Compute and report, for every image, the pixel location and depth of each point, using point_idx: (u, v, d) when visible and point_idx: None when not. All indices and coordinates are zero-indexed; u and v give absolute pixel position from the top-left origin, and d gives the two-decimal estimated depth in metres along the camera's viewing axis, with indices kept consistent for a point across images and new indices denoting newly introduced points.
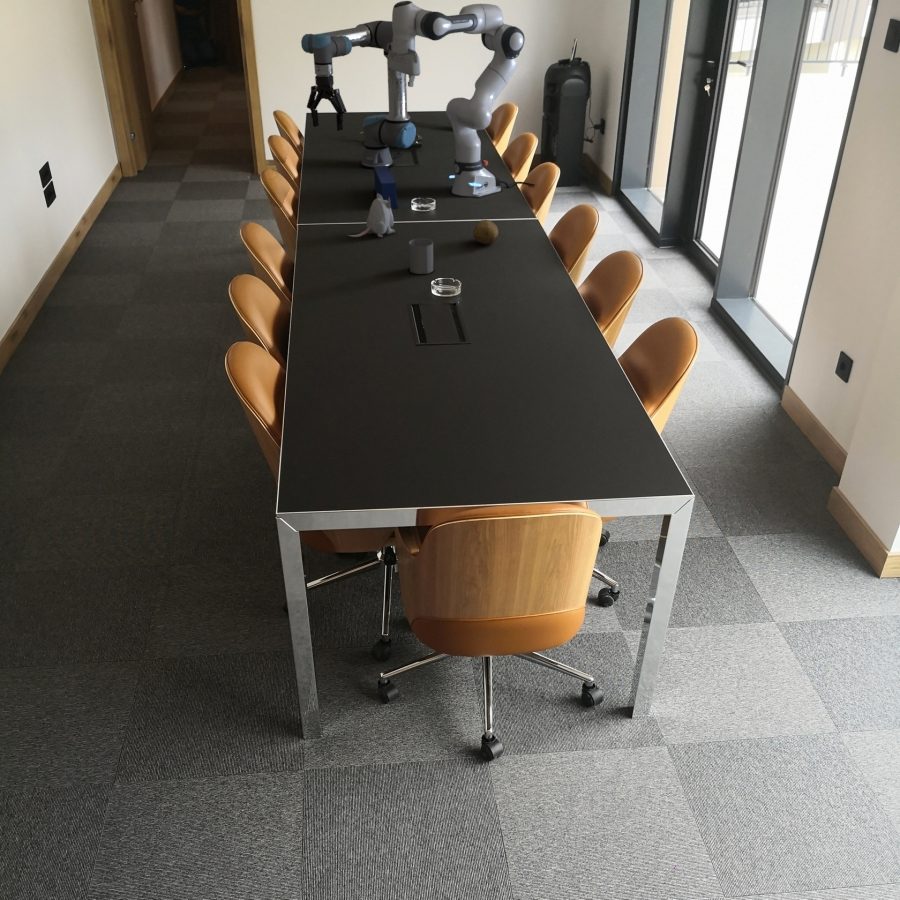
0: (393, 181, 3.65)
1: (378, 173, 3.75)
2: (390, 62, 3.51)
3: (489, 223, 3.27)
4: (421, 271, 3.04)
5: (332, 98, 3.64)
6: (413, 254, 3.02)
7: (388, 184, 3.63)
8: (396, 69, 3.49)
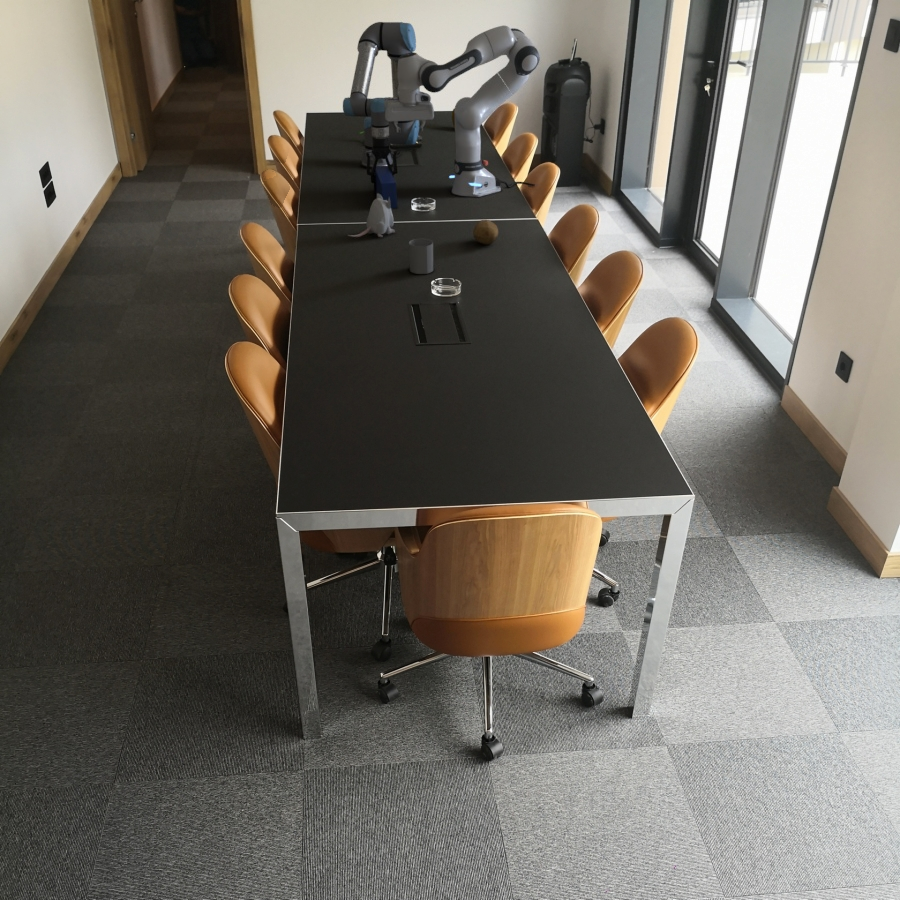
0: (393, 181, 3.65)
1: (378, 173, 3.75)
2: None
3: (489, 223, 3.27)
4: (421, 271, 3.04)
5: None
6: (413, 254, 3.02)
7: (388, 184, 3.63)
8: None
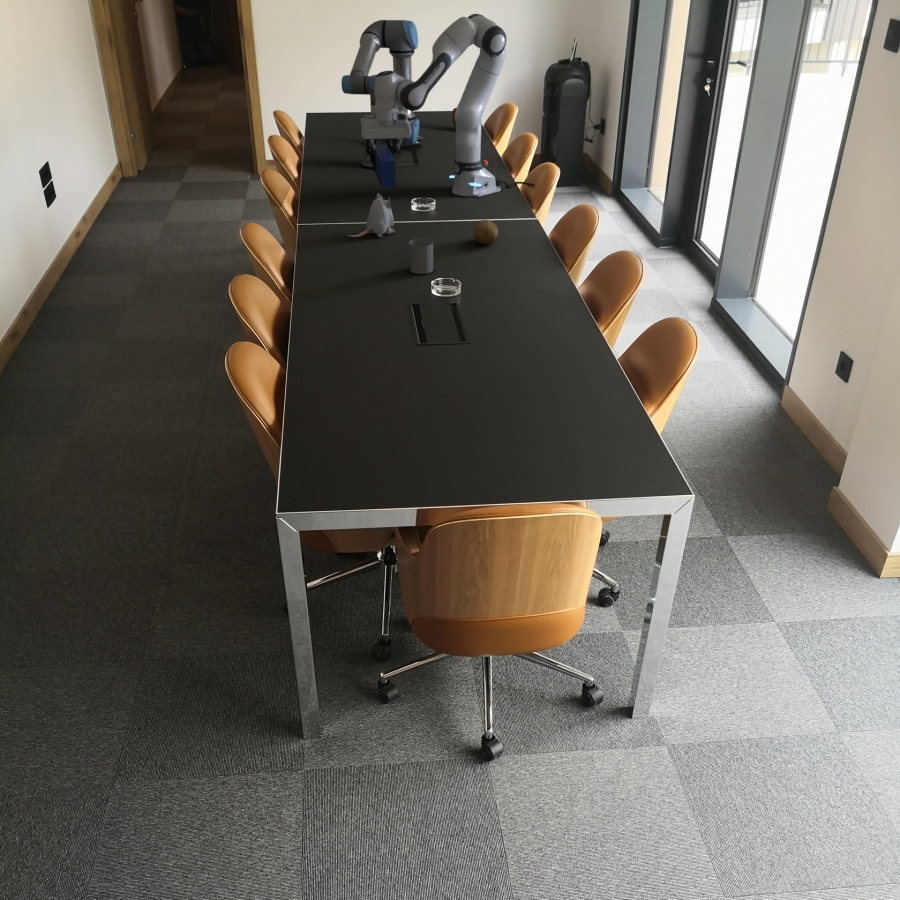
0: (392, 159, 3.60)
1: (377, 151, 3.70)
2: None
3: (489, 223, 3.27)
4: (421, 271, 3.04)
5: None
6: (413, 254, 3.02)
7: (387, 162, 3.58)
8: None
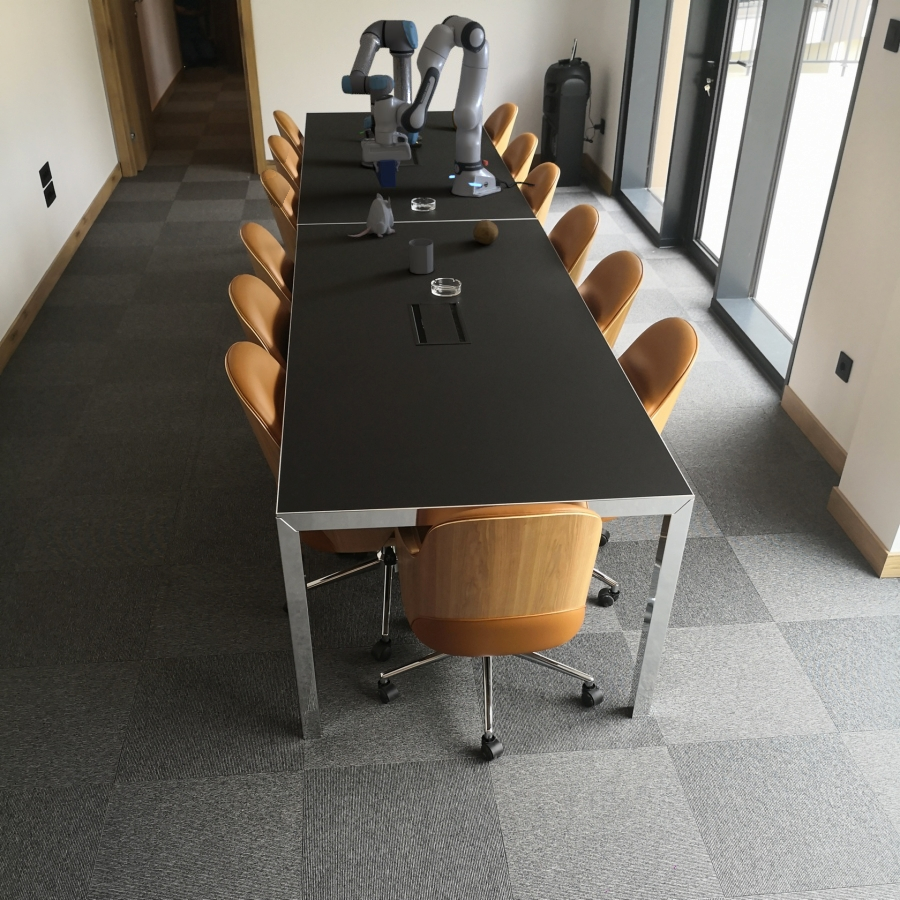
0: None
1: None
2: None
3: (489, 223, 3.27)
4: (421, 271, 3.04)
5: None
6: (413, 254, 3.02)
7: (387, 162, 3.58)
8: None
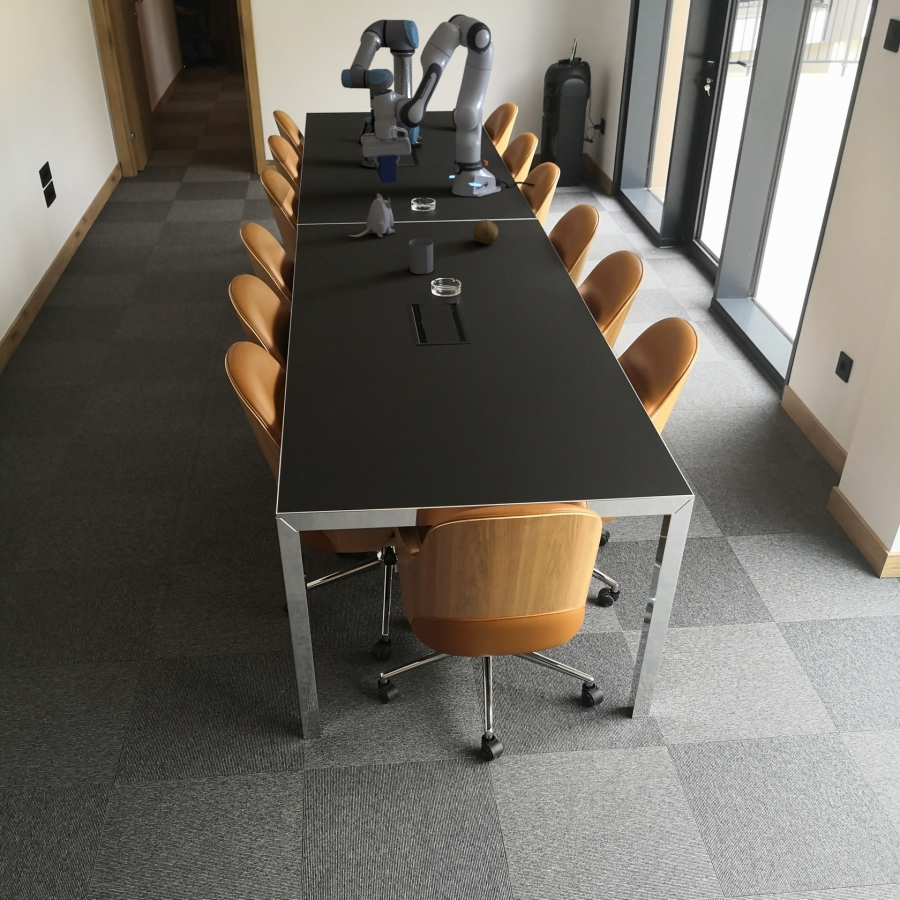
0: None
1: None
2: None
3: (489, 223, 3.27)
4: (421, 271, 3.04)
5: None
6: (413, 254, 3.02)
7: (387, 157, 3.57)
8: None
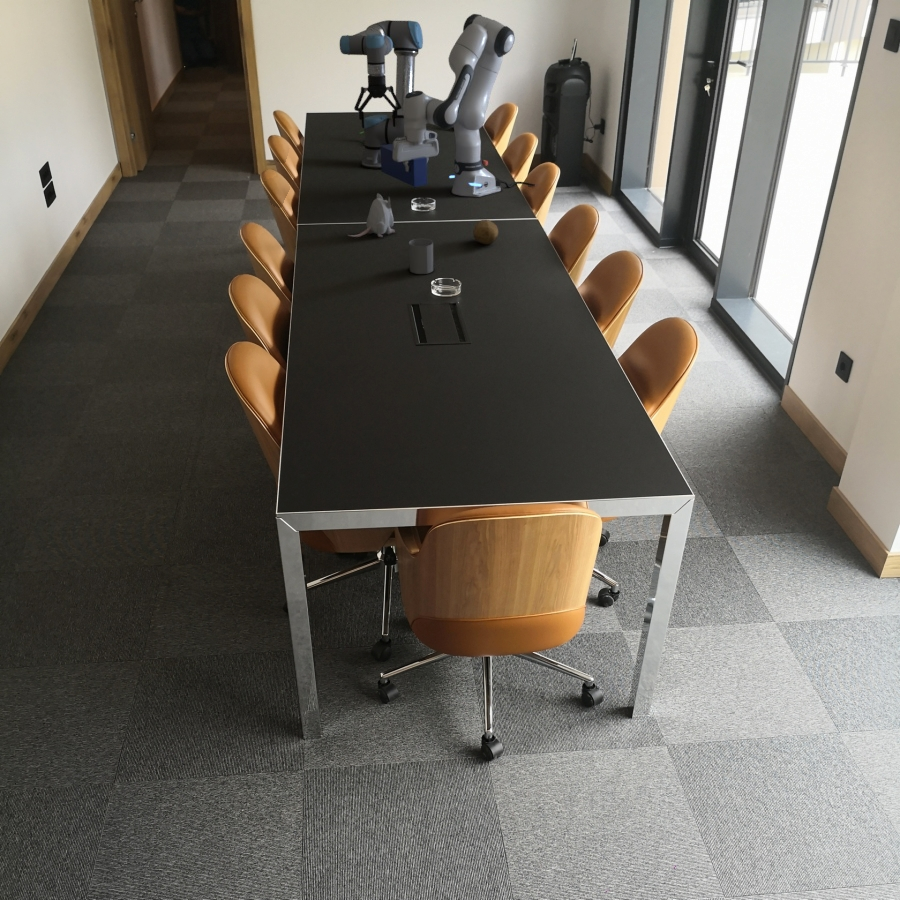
0: (422, 157, 3.53)
1: None
2: None
3: (489, 223, 3.27)
4: (421, 271, 3.04)
5: (386, 96, 3.73)
6: (413, 254, 3.02)
7: (420, 160, 3.50)
8: None
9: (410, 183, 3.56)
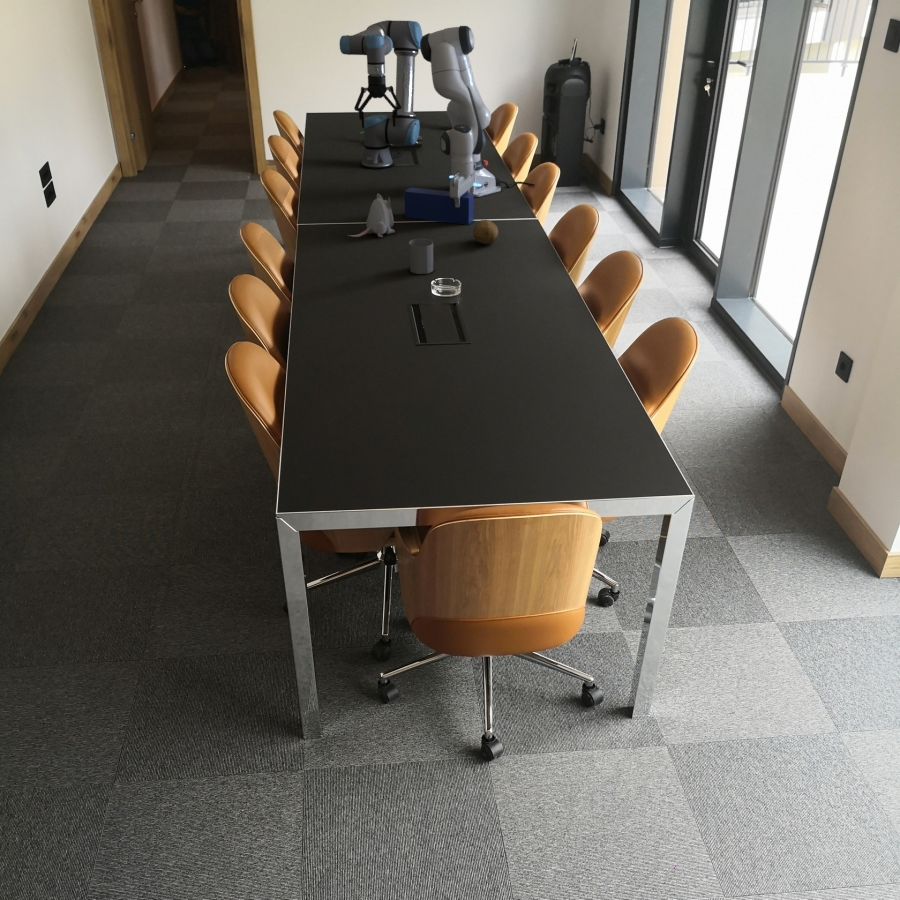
0: (468, 193, 3.50)
1: (432, 193, 3.50)
2: None
3: (489, 223, 3.27)
4: (421, 271, 3.04)
5: (386, 96, 3.73)
6: (413, 254, 3.02)
7: (471, 197, 3.48)
8: None
9: (461, 222, 3.51)
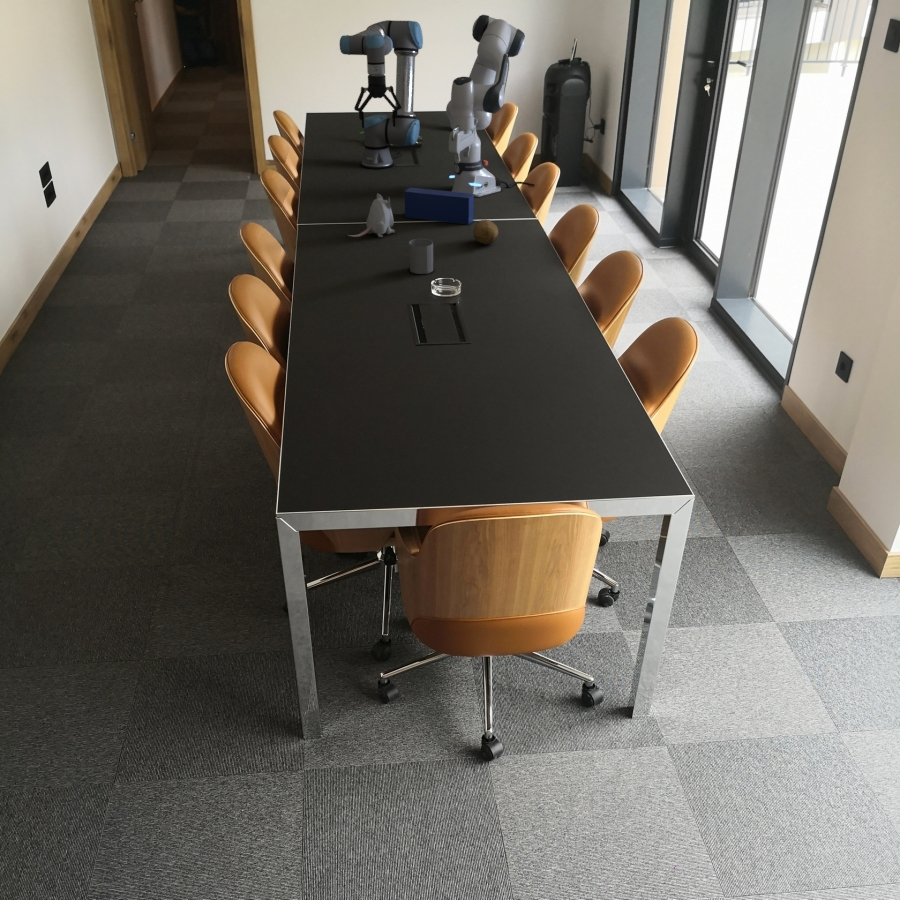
0: (468, 193, 3.50)
1: (432, 193, 3.50)
2: None
3: (489, 223, 3.27)
4: (421, 271, 3.04)
5: (386, 96, 3.73)
6: (413, 254, 3.02)
7: (471, 197, 3.48)
8: None
9: (461, 222, 3.51)
